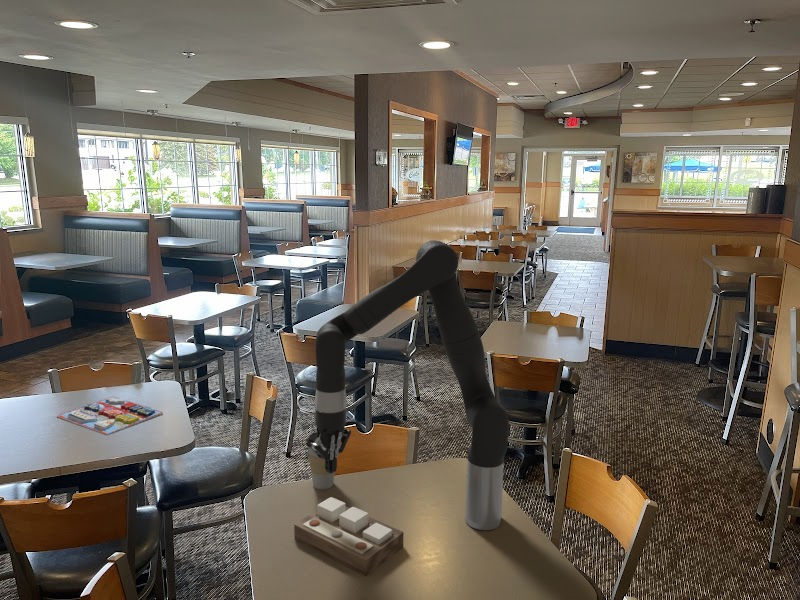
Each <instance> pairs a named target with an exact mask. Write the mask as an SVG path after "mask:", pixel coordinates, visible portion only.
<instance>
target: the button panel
mask: <svg viewBox="0 0 800 600" xmlns="http://www.w3.org/2000/svg"><path fill="white" fill-rule="evenodd" d="M350 508H351V507H348V506H346V511H347V510H348V509H350ZM375 523H378V524H381V525H383V526H385V527H387V528H390V529H392V537H390V538H389V539H388V540H386V541H385V542H384V543H382V544H381V545H380V546H379V545H377V544H375V543H373V542H370V541H368V540H366V539H364V538H363V531H364V530H366V529H367V528H369V527H370V526H372V525H373V524H375ZM293 527H294V528H293V530H294V537H293V539H294V540H296V541H298V542H300V543H301V544H303V545H305V546H307V547H309V548H311V549H313V550H314V551H316V552H318V553H321V554H322V555H324V556H326V557H328V558H330V559H332V560H334V561H335V562H338V563H339V564H341V565H342V566H345V567H347V568H349V569H351V570H353V571H354V572H356V573H359V574H360V575H362V576H364V577H367V576H368V575H370V574H371V573H373V572H374V571H375V570H376V569H377V568H379V567H380V566H381V565H383V563H385V562H386V561H387V560H389V559H390V558H391V557H392V556H394V555H395V554H397V553H398V552H399V551H400V550H401V549H403V548H404V535H405V534H404V532H405V531H403V530H400V529H398V528H395V527H393V526H390V525H389V524H386V523H384V522H383V521H381V520H378V519H375V518H373V517H371V516H370V515H368V525H367V526H366V527H365V528H363V529H362V530H360V531H359V532H357V533H356V534H354V533H352V532H349V531H347V530H345V529H343V528H341V527H339V519H338V520H336V521H335V522H333V523H331V522H328V521H326V520H324V519H322V518H320V517H318V516H317V510H316V511H314V512H312V513H311V514H309V515H308V516H306V517H304V518H302V519H301V520H299V521H297V522H295V523H294V524H293Z"/></svg>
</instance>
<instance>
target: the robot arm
mask: <svg viewBox="0 0 800 600" xmlns="http://www.w3.org/2000/svg"><path fill="white" fill-rule="evenodd" d="M458 267H459V257H458V254H457V253H456V251H455V250H454V249H453V248H452V247H451V246H450V245H448V244H447V243H445V242H443V241H440V240H433V239H432V240H428V241H425V242H424V243H422V245H421V246H420V247H419V248H418V250H417V253H416V257H415V263H413V264H412V265H411V266H410V267H409V268H408V269H406V271H404V272H403V273H402V274H400V275H399V276H398V277H396V278H394V279H393V280H392V281H390V282H388V283H385V284H384V285H382V286H380V287H379V288H375V289H374V290H373V291H371V292H370V293H368V294H367V295H365V296H364V297H362V298H361V299H359V300H358V301H357V302H356V303H354V304H353V305H351V306H350V307H349V308H348V309H347V310H346V311H344V312H342V313H340V314H339V315H337V316H335V317H333V318H332V319H330V320H329V321H327V322H325V323H324V324H323V325H322V326H320V328H319V329H318V331H317V332H316V336H315V342H314V345H315V347H314V348H315V363H316V372H315V373H316V374H315V382H316V383H315V387H316V388H315V396H314V398H315V399H314V403H315V404H314V405H315V406H314V407H315V409H314V411H315V412H314V413H315V414H314V415H315V417H314V418H315V421H314V422H315V426H316V428H317V431H316V432H317V435H316V436H317V439H316V440H315V442H314V443H312V442H311V443H310V445H309V446H310V448H311V449H312V450H313V451H314V452H315V454H316V455H317V456H318V457H319V458H322V459H324V460H325V470H326V471H327V472H329V473H331V474H332V473H333V472H334V473H335V472H337V468H338V457H339V455H340V454H342V453H343V452H344V450H345V448H346V446H347V443H348V441H349V439H350V436H351V434H352V431H351V430H350V429H348V428H346V427H345V425H346V423H347V392H346V370H345V362H346V361H345V359H346V344H347V343H348V342H349V341H351V340H352V339H354V338H355V337H356V336H357V335H358V336H359V335H364V334H366V333H367V332H369V331H370V330H371V329H373V328H374V327H375V326H377V325H379V324H380V323H381V322H382V321H384V320H385V319H386V318H388V317H389V316H390V315H392V314H393V313H394V312H396V311H397V310H399V308H401V307H403V306H404V305H405V304H408V302H410V301H412V300H413V299H415V298H416V297H418V296H419V295H422V294H423V293H424V292H425V293H426V291H428V293H429V295H430V298H431V301H432V304H433V309H434V315H435V320H436V324H437V325H438V331H439V334H440V337H441V341H442V345H443V348H444V350H445V353H446V356H447V358H448V361H449V363H450V366H451V368H452V371H453V373H454V375H455V377H456V380H457V382H458V384H459V387H460V392H461V396H462V401H463V406H464V410H465V415H466V419H467V422H468V424H469V425H470V426H471V428H472V431H471V432H472V433H471V445H470V446H468V449H467V460H466V461H467V464H466V484H465V485H466V491H465V511H464V512H465V514H464V515H465V516H464V521H465V523H466V524H467V525H468V526H469V527H470V528H473V529H475V530H479V531H490V530H491V531H492V530H495V529H498V527H499V526H500V525H501V520H502V519H501V518H502V513H503V512H502V509H503V492H504V490H503V489H504V484H503V482H504V481H503V480H504V464H505V463H504V462H505V461H504V460H505V456H506V453H507V450H508V441H509V431H510V429H509V428H510V421H509V415H508V412H507V411H506V409H505V408H504V407H503V406H502V405H501V404H500V402H499V401H498V399H497V398H496V395H495V394H494V392H493V389H492V387H491V385H490V383H489V379H488V377H487V373H486V356H485V349H484V345H483V342H482V338H481V334H480V331H479V328H478V326H477V323H476V320H475V319H474V316H473V314H472V312H471V310H470V307H469V306H468V304H467V302H466V300H465V297H464V296H463V295H462V294H463V293H462V291H461V289H460V286H459V282H458V279H457V273H456V272H457V271H458Z"/></svg>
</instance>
